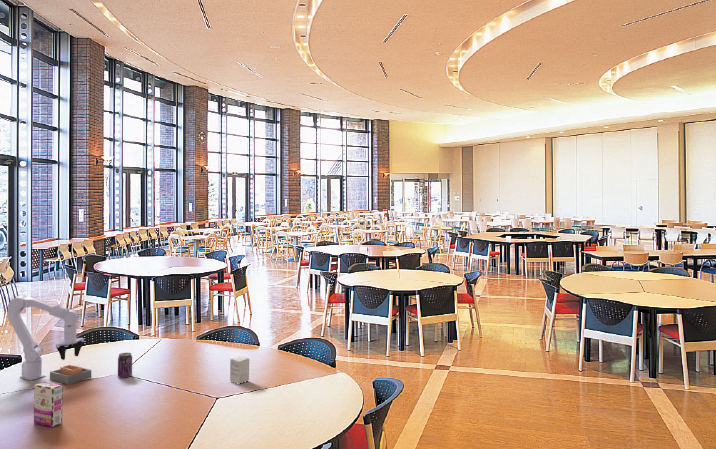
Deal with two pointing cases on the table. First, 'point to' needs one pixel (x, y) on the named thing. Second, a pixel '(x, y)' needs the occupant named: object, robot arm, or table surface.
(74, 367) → the box
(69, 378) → the big crate
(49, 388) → the candy bar box
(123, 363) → the beverage can
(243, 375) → the grey drawer cabinet
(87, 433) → the table surface
